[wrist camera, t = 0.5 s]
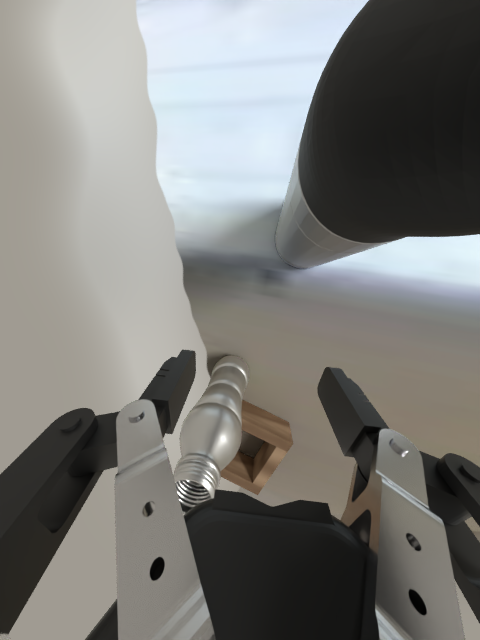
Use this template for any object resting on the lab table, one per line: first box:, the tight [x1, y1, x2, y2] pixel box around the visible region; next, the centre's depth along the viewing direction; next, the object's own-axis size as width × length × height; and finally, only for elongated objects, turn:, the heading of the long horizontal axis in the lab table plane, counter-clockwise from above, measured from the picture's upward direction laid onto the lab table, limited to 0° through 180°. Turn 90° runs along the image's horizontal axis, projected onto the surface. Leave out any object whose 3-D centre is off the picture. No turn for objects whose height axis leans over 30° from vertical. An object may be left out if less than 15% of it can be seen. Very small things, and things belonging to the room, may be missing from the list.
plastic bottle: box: [173, 355, 250, 514], centre depth 22 cm, size 6×7×20 cm
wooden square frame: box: [220, 400, 293, 495], centre depth 32 cm, size 14×14×4 cm
